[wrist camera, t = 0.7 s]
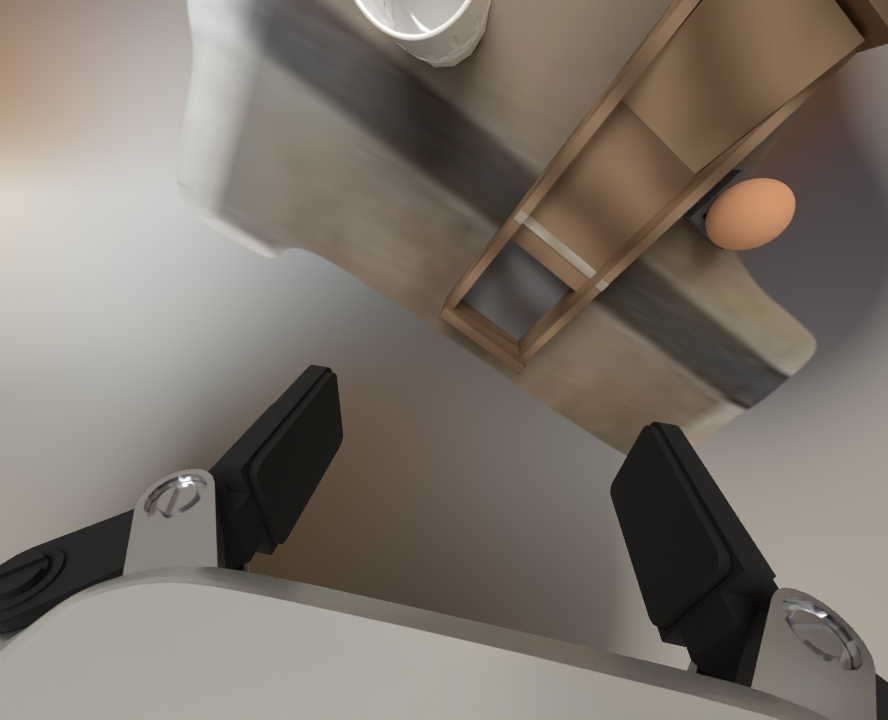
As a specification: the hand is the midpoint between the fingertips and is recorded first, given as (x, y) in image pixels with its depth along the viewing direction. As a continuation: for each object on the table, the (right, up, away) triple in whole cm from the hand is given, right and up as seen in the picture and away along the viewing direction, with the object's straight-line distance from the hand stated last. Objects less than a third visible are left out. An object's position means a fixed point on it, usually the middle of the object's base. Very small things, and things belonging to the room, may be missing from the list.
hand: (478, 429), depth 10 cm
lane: (+11, +15, +19) cm, 27 cm away
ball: (+22, +13, +15) cm, 30 cm away
